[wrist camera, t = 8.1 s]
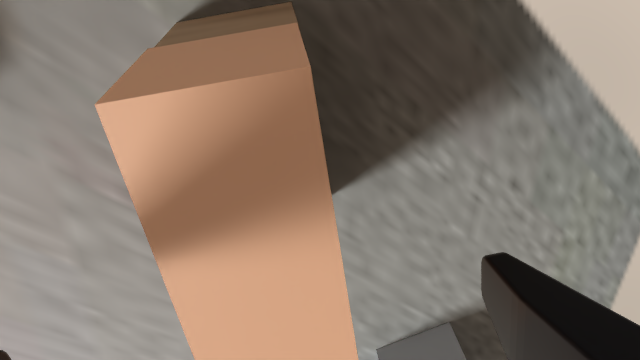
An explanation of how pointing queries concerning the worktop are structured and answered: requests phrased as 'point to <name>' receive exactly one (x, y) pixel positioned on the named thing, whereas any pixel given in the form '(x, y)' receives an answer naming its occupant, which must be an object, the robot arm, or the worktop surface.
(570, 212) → the worktop surface
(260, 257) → the terracotta brick
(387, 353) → the slate-grey brick
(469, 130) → the worktop surface
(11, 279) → the worktop surface
